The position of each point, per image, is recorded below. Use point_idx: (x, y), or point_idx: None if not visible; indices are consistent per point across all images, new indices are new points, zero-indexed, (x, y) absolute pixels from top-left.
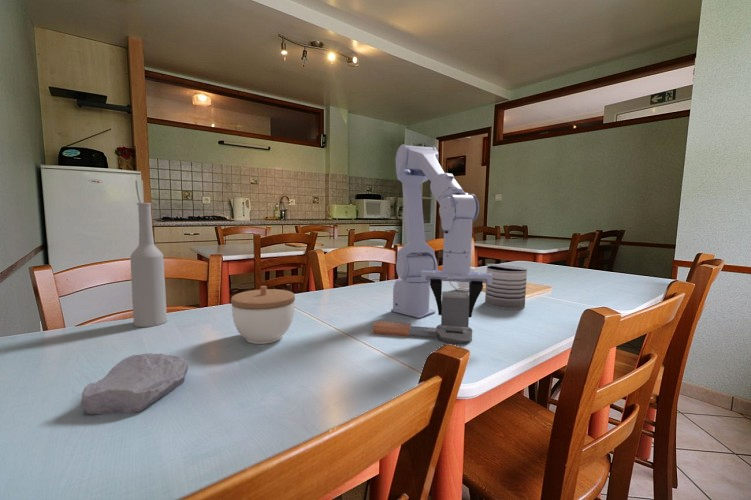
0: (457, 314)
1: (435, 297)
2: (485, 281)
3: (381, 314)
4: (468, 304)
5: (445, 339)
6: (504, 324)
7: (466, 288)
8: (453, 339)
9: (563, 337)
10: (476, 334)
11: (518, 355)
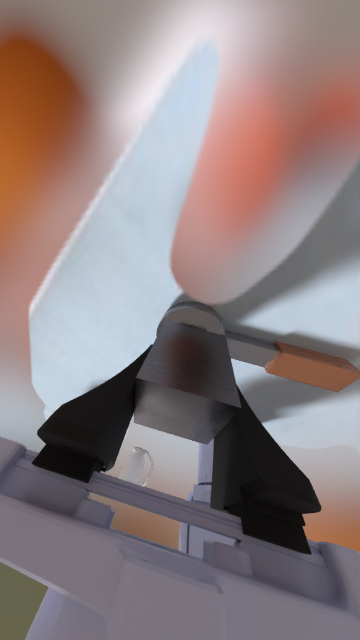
0: (186, 344)
1: (255, 415)
2: (21, 462)
3: (276, 420)
4: (147, 360)
5: (215, 313)
6: (106, 368)
7: (136, 451)
8: (201, 307)
9: (33, 321)
10: (150, 340)
11: (92, 245)
